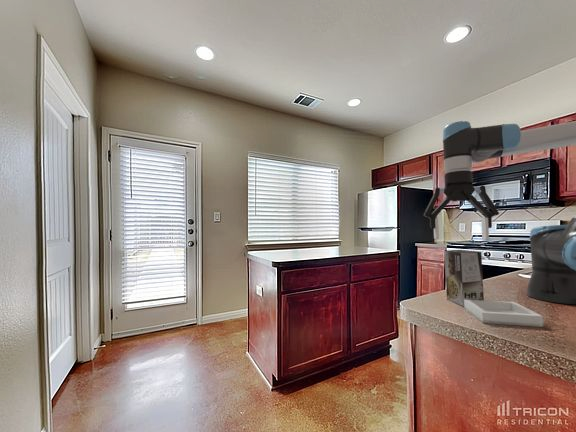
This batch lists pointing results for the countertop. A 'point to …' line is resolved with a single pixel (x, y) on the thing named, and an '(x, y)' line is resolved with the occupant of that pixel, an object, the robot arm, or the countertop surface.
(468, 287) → the printed cardboard box
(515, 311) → the shallow grey tray
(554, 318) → the countertop surface
